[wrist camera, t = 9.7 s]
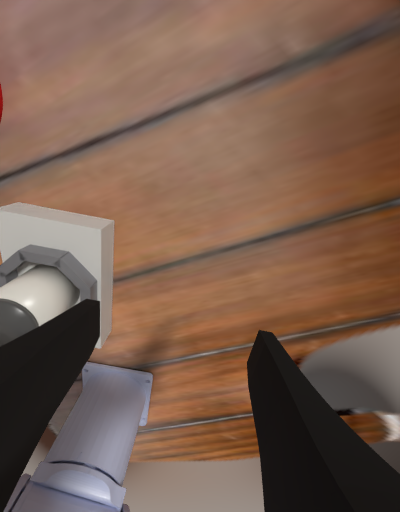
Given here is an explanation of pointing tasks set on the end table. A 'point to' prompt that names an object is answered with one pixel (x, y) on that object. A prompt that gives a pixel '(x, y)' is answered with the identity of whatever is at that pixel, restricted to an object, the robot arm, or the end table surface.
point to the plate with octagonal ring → (61, 251)
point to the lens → (34, 300)
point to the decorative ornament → (1, 103)
